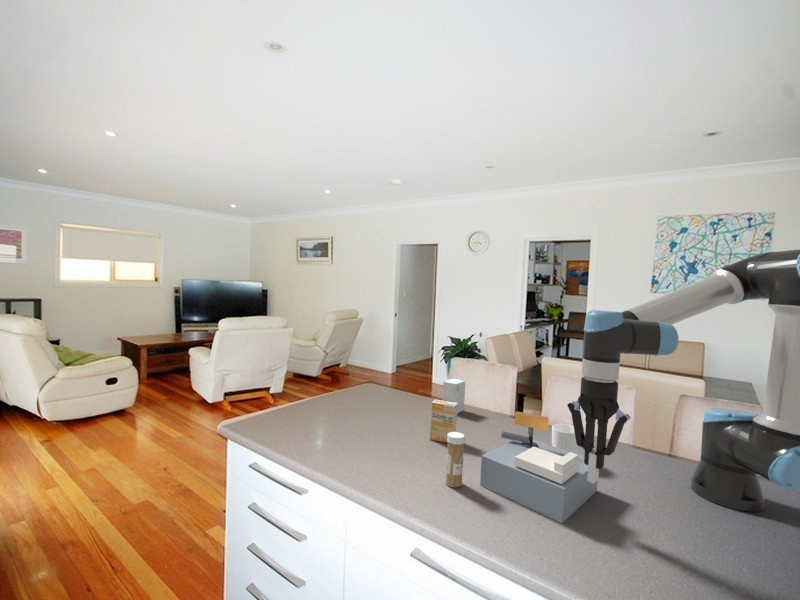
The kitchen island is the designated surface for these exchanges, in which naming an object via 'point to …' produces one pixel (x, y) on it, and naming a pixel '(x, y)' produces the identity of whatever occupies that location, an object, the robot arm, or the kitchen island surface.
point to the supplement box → (443, 419)
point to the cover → (548, 464)
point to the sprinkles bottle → (454, 459)
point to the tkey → (530, 422)
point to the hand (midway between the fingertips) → (592, 480)
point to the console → (535, 481)
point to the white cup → (564, 437)
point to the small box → (454, 392)
